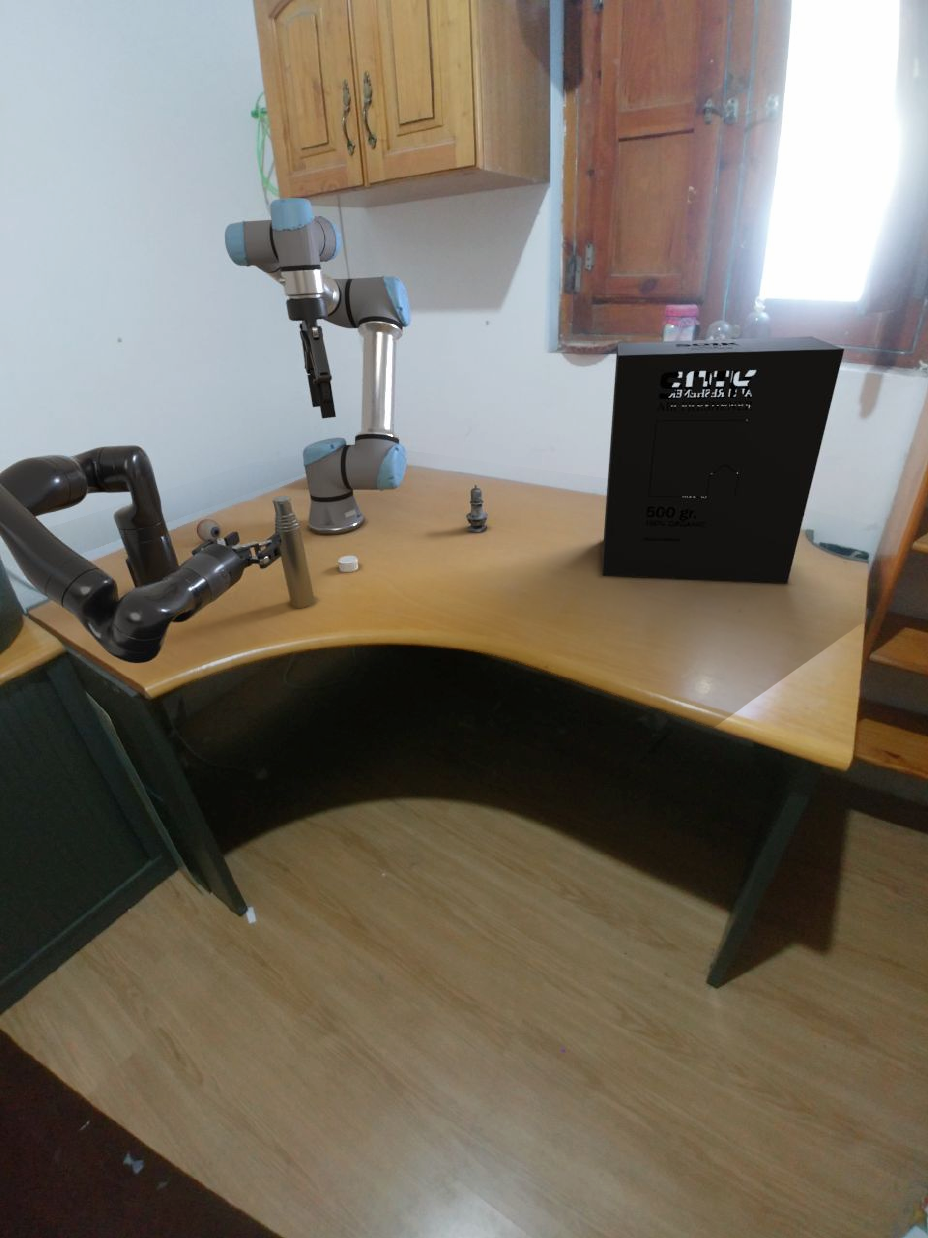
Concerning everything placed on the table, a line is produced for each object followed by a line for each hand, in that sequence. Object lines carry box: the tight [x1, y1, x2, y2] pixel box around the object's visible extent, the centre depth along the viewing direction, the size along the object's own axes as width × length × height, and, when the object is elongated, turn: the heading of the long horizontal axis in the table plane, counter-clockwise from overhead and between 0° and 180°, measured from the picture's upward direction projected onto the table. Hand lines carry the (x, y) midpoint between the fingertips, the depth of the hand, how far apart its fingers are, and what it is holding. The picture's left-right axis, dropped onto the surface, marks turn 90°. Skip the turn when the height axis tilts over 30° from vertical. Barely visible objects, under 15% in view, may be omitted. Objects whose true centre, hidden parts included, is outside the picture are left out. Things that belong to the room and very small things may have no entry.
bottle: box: [271, 495, 316, 609], centre depth 124 cm, size 5×5×23 cm
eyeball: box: [196, 518, 222, 542], centre depth 162 cm, size 6×6×6 cm
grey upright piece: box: [465, 484, 489, 533], centre depth 159 cm, size 6×6×12 cm
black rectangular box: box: [602, 336, 845, 585], centre depth 127 cm, size 38×20×45 cm, turn 78°
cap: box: [337, 555, 359, 573], centre depth 144 cm, size 4×4×2 cm
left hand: (258, 537), depth 111 cm, fingers open, 8 cm apart
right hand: (323, 411), depth 126 cm, fingers open, 13 cm apart
